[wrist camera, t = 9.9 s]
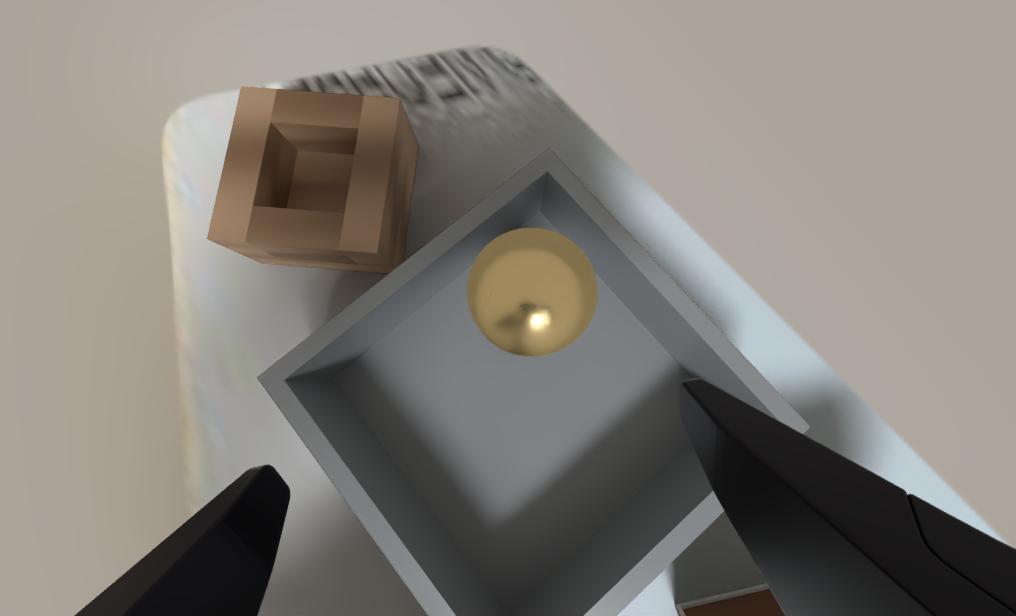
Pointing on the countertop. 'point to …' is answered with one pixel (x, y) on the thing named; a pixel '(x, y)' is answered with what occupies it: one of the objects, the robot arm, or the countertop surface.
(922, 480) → the countertop surface
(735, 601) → the food container
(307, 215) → the socket block
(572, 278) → the pin
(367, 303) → the tray
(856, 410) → the countertop surface
